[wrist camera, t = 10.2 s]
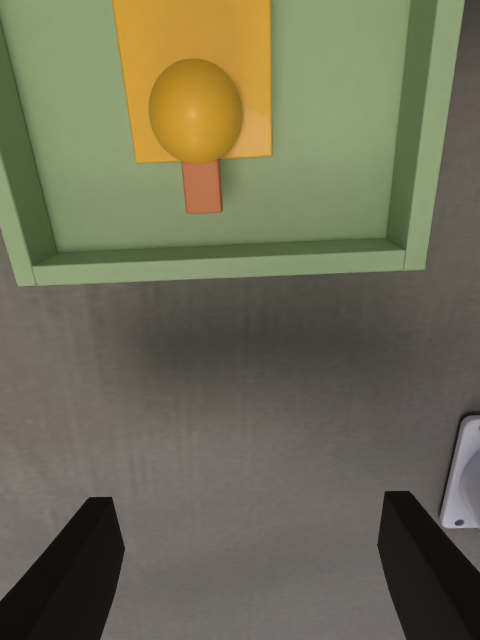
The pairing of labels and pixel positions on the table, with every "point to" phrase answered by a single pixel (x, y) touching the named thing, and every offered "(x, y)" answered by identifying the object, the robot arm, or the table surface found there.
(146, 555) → the table surface
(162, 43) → the toy duck
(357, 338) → the table surface
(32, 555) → the table surface
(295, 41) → the tray
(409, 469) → the table surface
